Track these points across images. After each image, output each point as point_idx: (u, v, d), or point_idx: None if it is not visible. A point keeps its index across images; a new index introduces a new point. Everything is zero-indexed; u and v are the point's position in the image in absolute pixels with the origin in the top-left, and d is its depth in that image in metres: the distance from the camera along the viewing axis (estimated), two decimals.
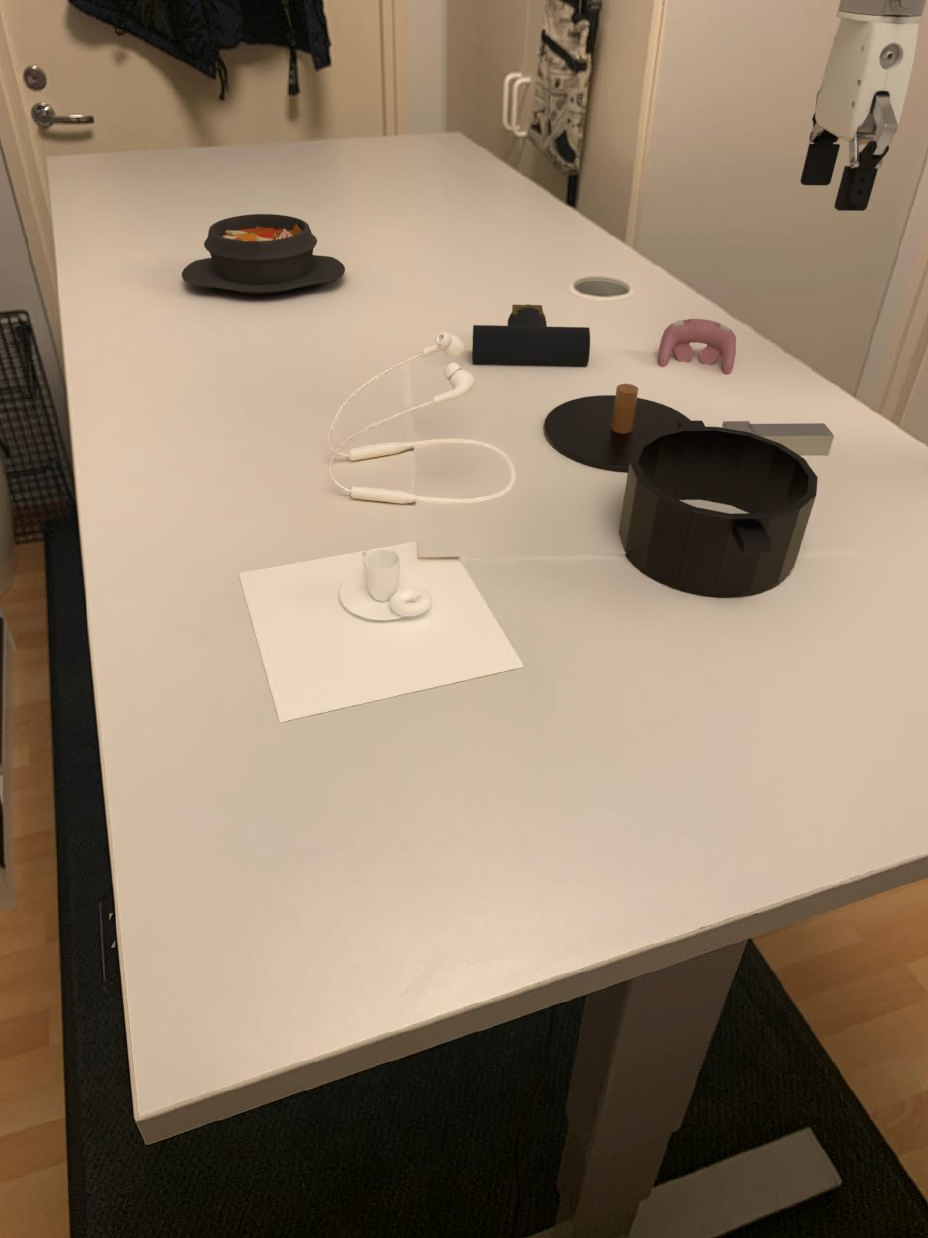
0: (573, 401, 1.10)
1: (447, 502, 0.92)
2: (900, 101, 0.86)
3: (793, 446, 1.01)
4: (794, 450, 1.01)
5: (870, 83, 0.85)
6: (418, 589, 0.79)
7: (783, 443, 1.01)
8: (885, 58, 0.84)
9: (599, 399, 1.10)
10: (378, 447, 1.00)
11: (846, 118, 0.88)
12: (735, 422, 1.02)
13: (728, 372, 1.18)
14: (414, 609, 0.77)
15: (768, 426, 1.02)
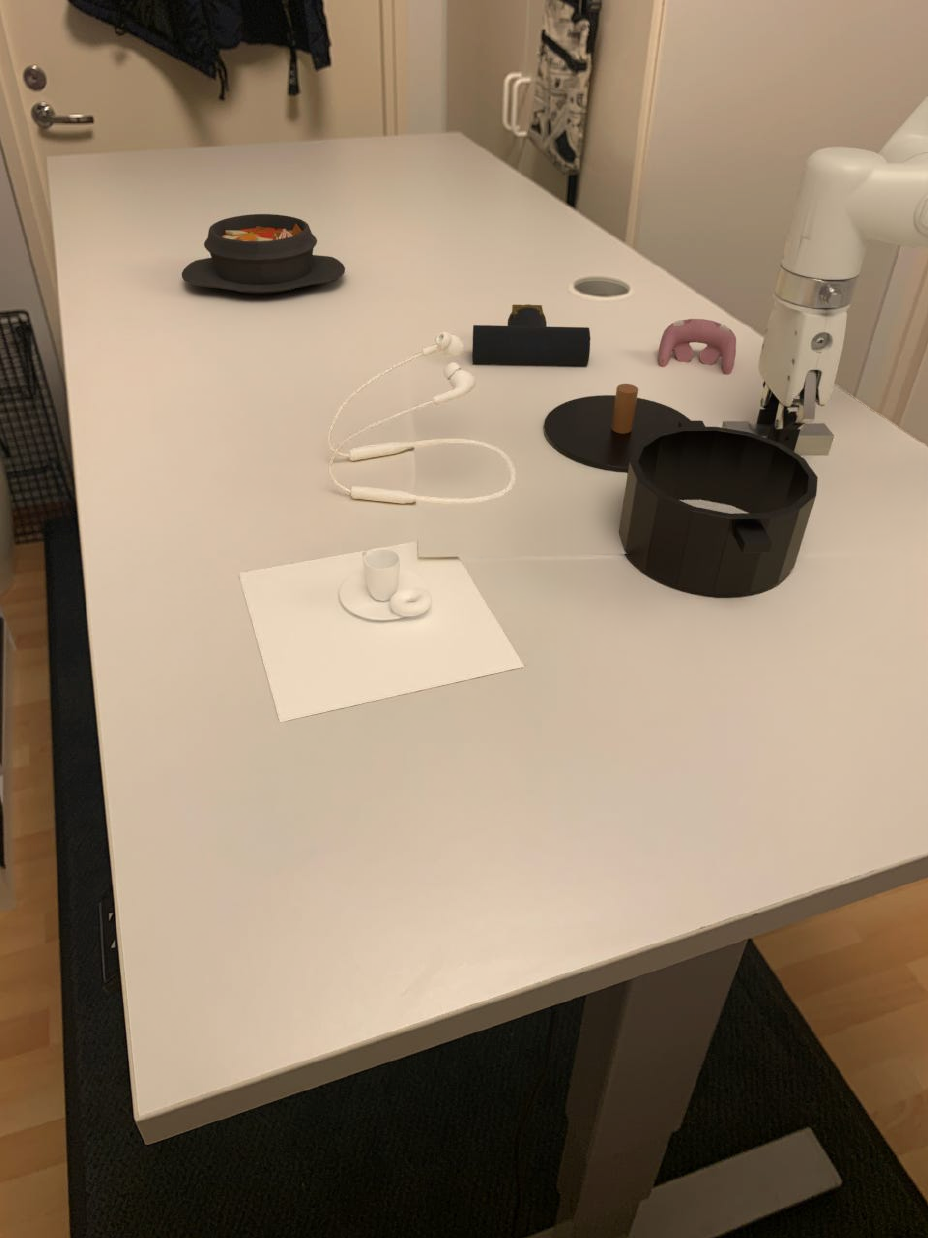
0: (573, 401, 1.10)
1: (447, 502, 0.92)
2: (832, 377, 0.92)
3: None
4: (794, 450, 1.01)
5: (803, 364, 0.91)
6: (418, 589, 0.79)
7: None
8: (816, 343, 0.90)
9: (599, 399, 1.10)
10: (378, 447, 1.00)
11: (783, 387, 0.94)
12: (735, 422, 1.02)
13: (728, 372, 1.18)
14: (414, 609, 0.77)
15: (768, 426, 1.02)
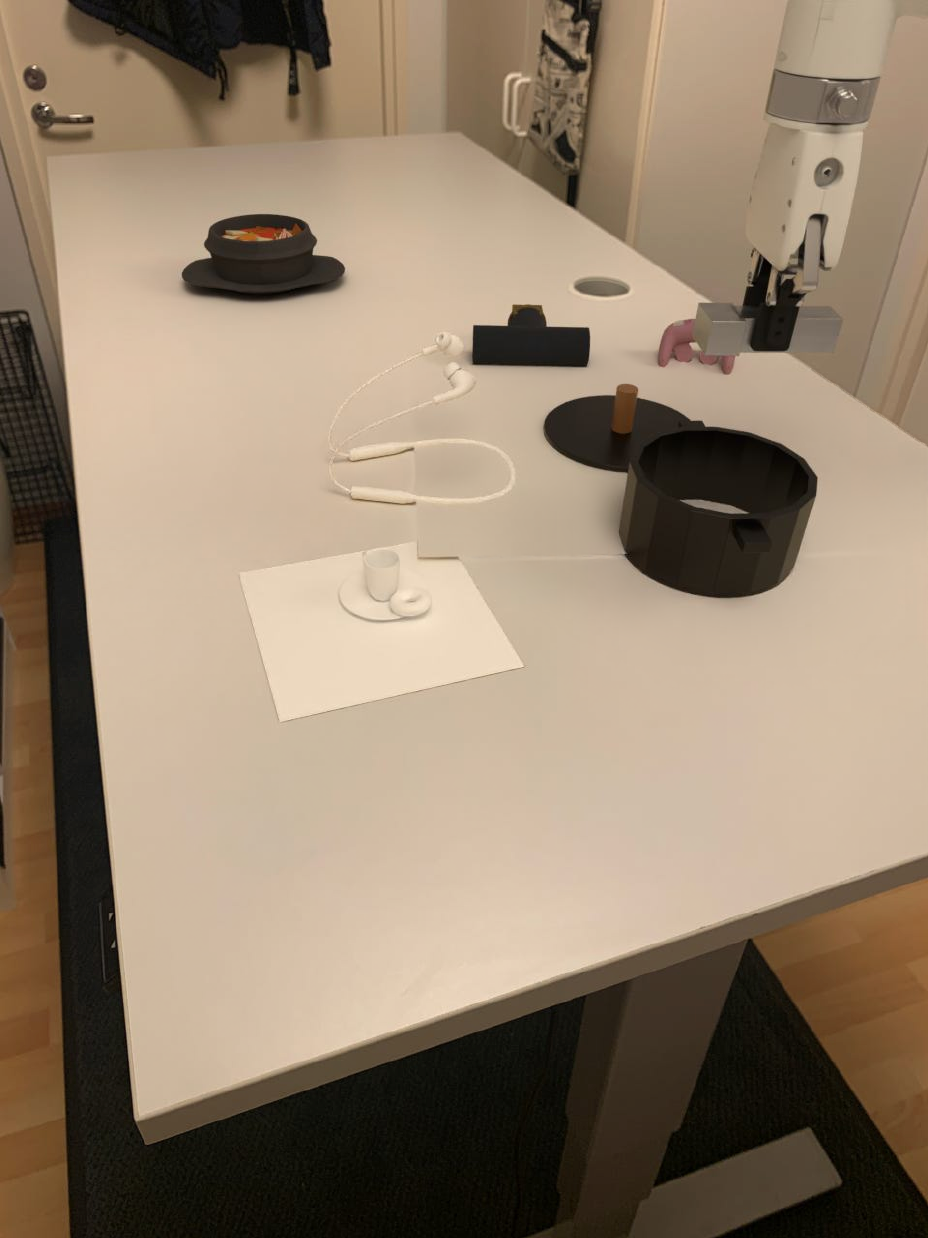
0: (573, 401, 1.10)
1: (447, 502, 0.92)
2: (842, 226, 0.68)
3: None
4: (791, 339, 0.77)
5: (804, 205, 0.67)
6: (418, 589, 0.79)
7: None
8: (821, 175, 0.66)
9: (599, 399, 1.10)
10: (378, 447, 1.00)
11: (776, 243, 0.70)
12: (714, 303, 0.78)
13: (728, 372, 1.18)
14: (414, 609, 0.77)
15: (756, 308, 0.78)
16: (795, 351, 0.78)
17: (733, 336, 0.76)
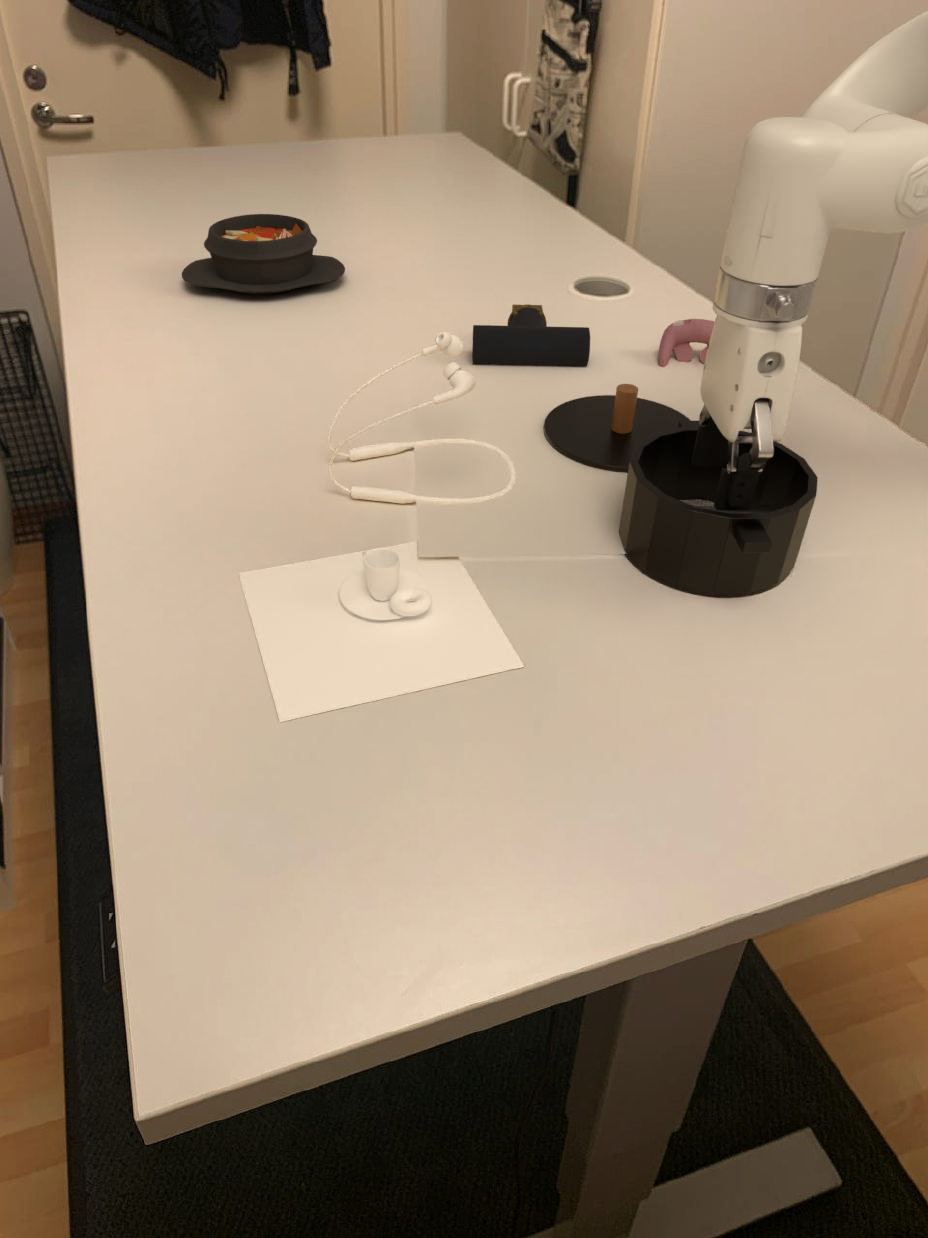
0: (573, 401, 1.10)
1: (447, 502, 0.92)
2: (785, 407, 0.74)
3: None
4: None
5: (749, 391, 0.73)
6: (418, 589, 0.79)
7: None
8: (765, 365, 0.72)
9: (599, 399, 1.10)
10: (378, 447, 1.00)
11: (725, 418, 0.76)
12: None
13: None
14: (414, 609, 0.77)
15: None
16: None
17: None
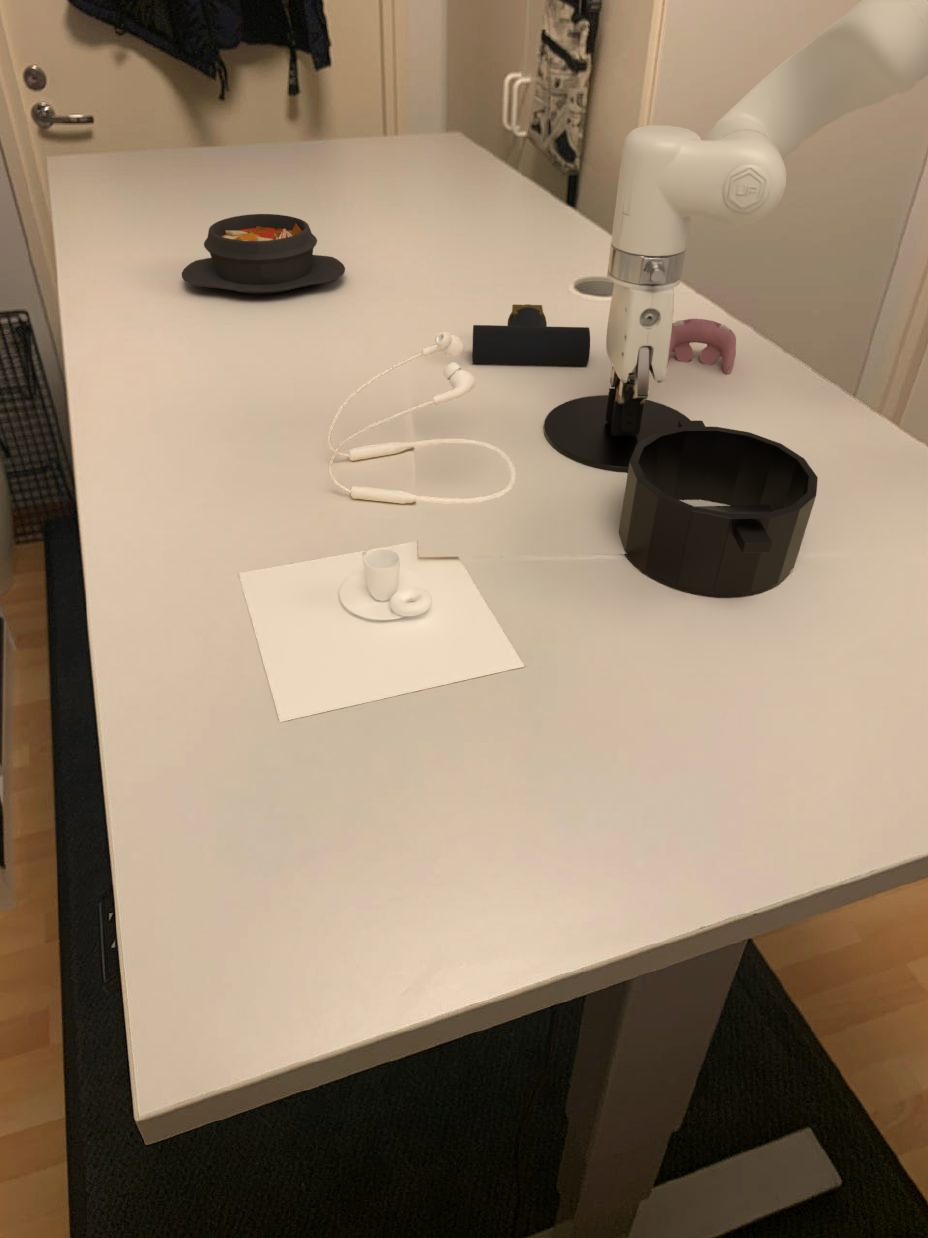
0: (573, 401, 1.10)
1: (447, 502, 0.92)
2: (664, 353, 0.94)
3: None
4: None
5: (634, 340, 0.93)
6: (418, 589, 0.79)
7: None
8: (646, 319, 0.92)
9: (599, 399, 1.10)
10: (378, 447, 1.00)
11: (619, 363, 0.96)
12: None
13: (728, 372, 1.18)
14: (414, 609, 0.77)
15: None
16: None
17: None
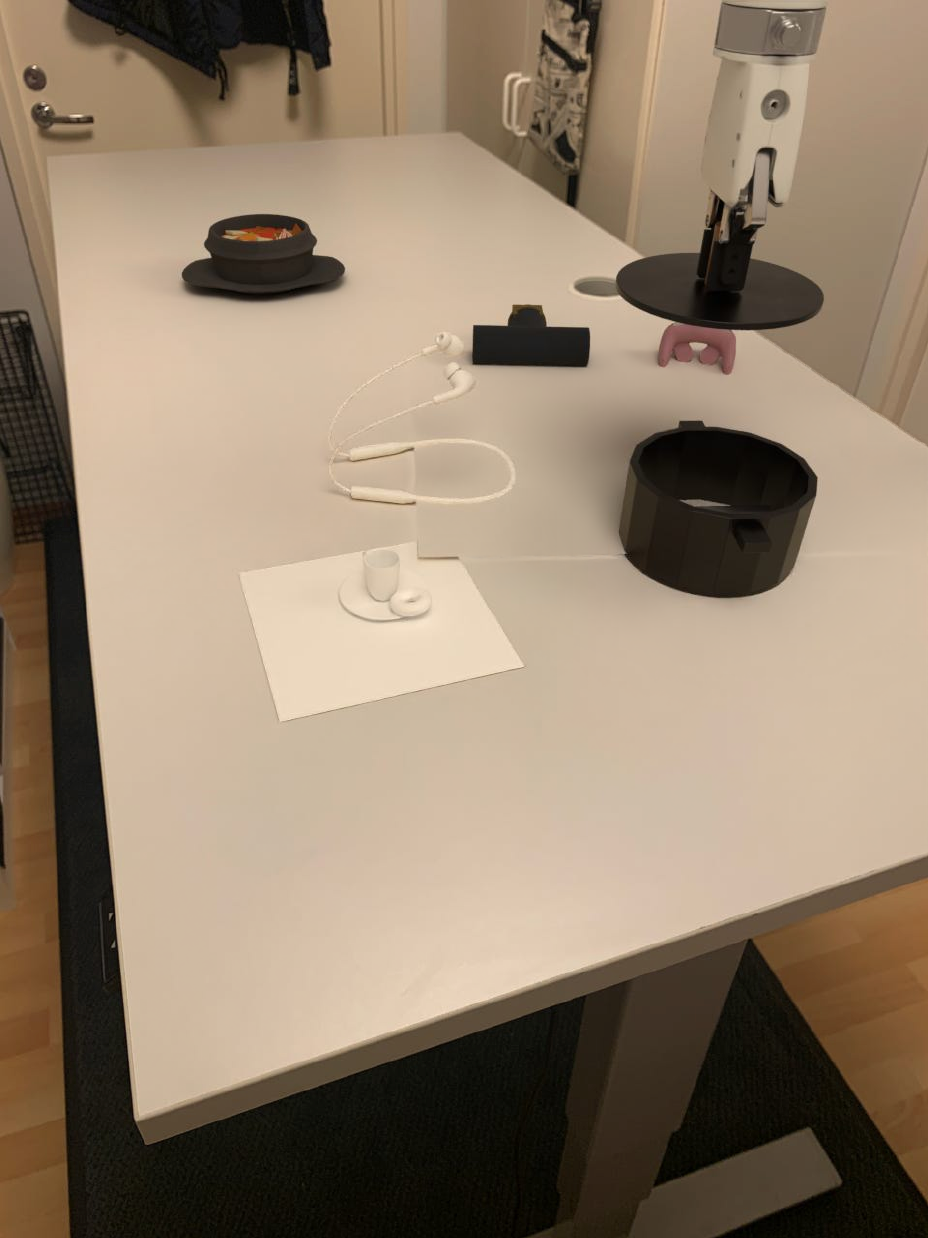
0: (651, 258, 0.85)
1: (447, 502, 0.92)
2: (791, 160, 0.69)
3: None
4: None
5: (752, 138, 0.68)
6: (418, 589, 0.79)
7: None
8: (769, 107, 0.67)
9: (684, 256, 0.85)
10: (378, 447, 1.00)
11: (727, 179, 0.71)
12: None
13: (728, 372, 1.18)
14: (414, 609, 0.77)
15: None
16: None
17: None
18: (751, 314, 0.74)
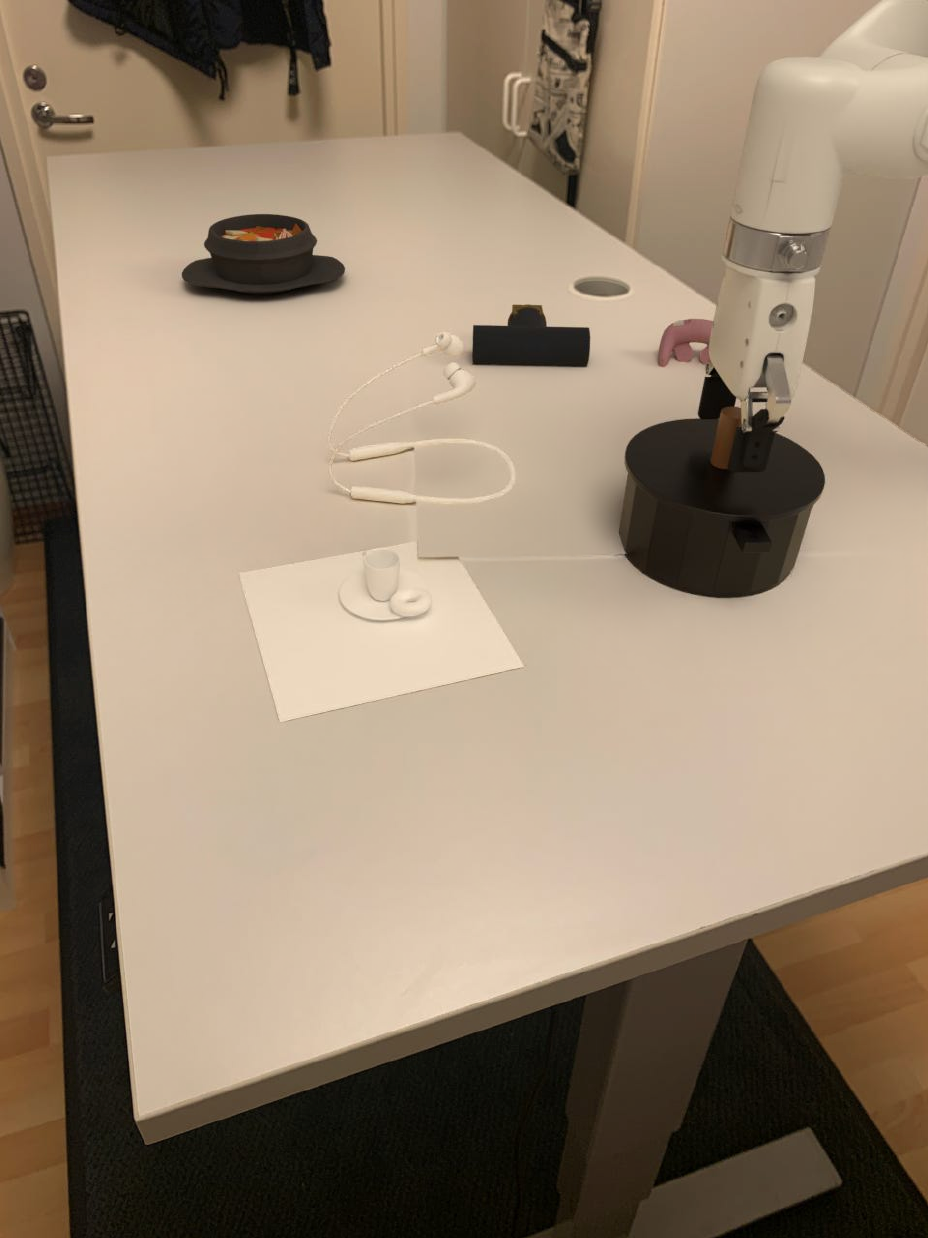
0: (657, 426, 0.88)
1: (447, 502, 0.92)
2: (797, 362, 0.72)
3: None
4: None
5: (760, 345, 0.71)
6: (418, 589, 0.79)
7: None
8: (776, 318, 0.70)
9: (689, 424, 0.88)
10: (378, 447, 1.00)
11: (735, 375, 0.74)
12: None
13: None
14: (414, 609, 0.77)
15: None
16: None
17: None
18: (757, 504, 0.77)
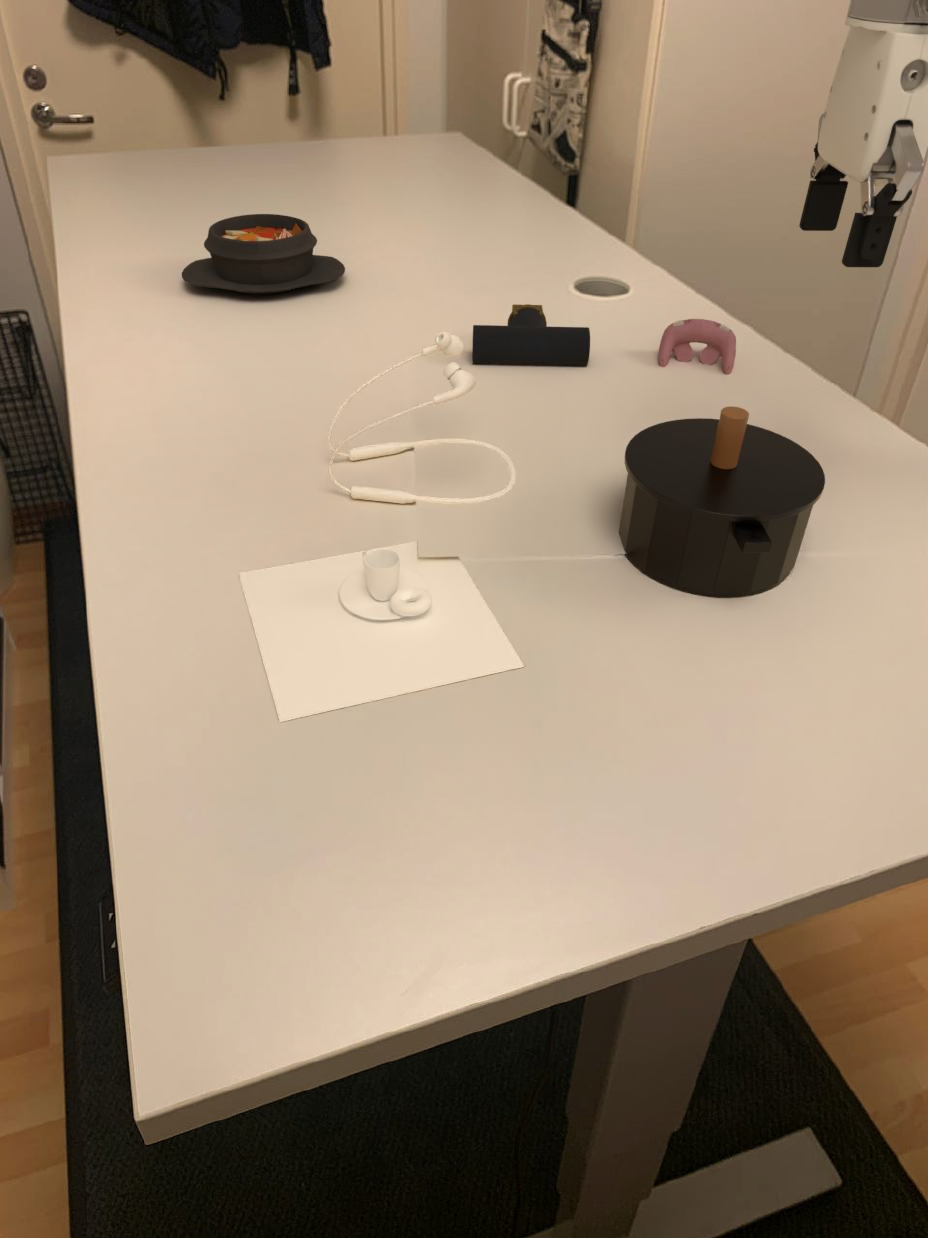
0: (657, 426, 0.88)
1: (447, 502, 0.92)
2: (926, 132, 0.67)
3: None
4: None
5: (889, 110, 0.66)
6: (418, 589, 0.79)
7: None
8: (908, 78, 0.65)
9: (689, 424, 0.88)
10: (378, 447, 1.00)
11: (857, 153, 0.69)
12: None
13: (728, 372, 1.18)
14: (414, 609, 0.77)
15: None
16: None
17: None
18: (757, 504, 0.77)
